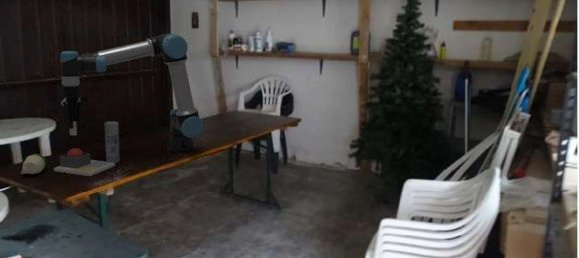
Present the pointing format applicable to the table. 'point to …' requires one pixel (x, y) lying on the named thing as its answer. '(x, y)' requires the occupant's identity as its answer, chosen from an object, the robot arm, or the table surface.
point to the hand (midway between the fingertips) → (73, 134)
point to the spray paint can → (112, 142)
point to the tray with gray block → (82, 165)
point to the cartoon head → (33, 164)
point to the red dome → (75, 153)
